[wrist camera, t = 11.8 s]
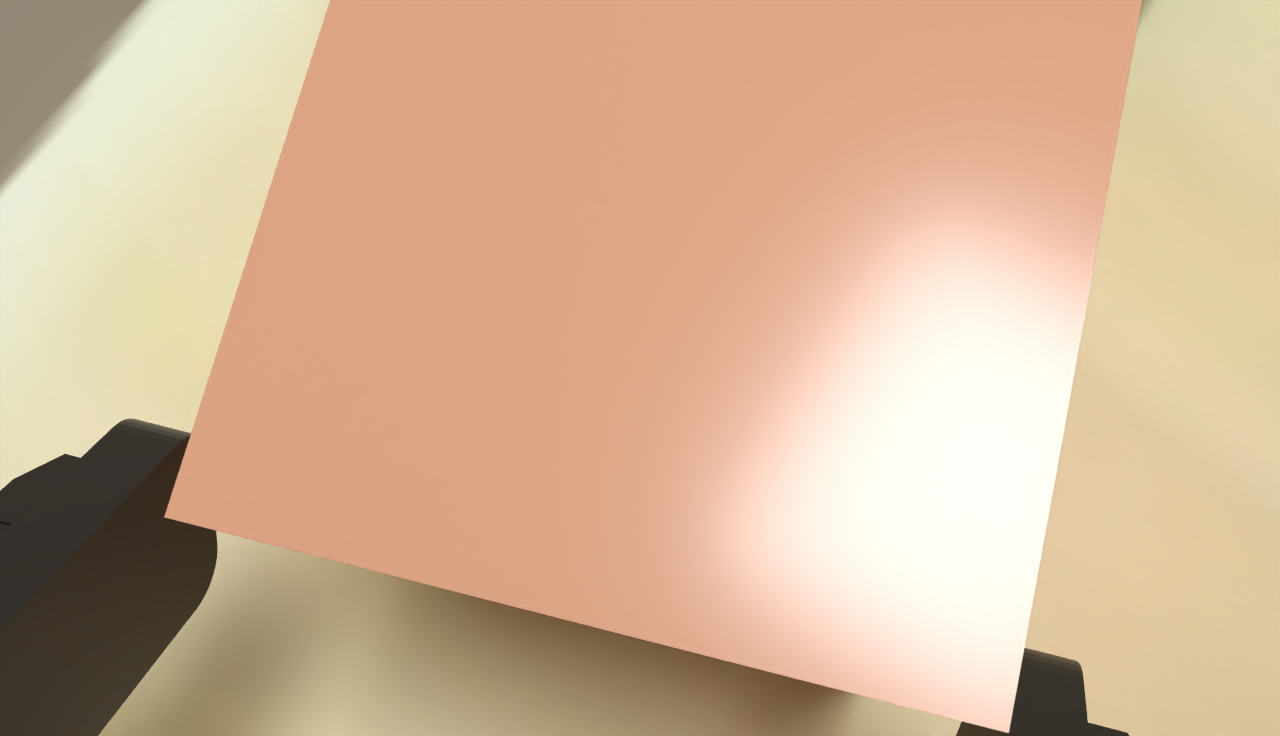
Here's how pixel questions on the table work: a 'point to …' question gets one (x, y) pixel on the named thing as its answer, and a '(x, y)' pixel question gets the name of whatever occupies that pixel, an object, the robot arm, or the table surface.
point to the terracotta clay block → (682, 320)
